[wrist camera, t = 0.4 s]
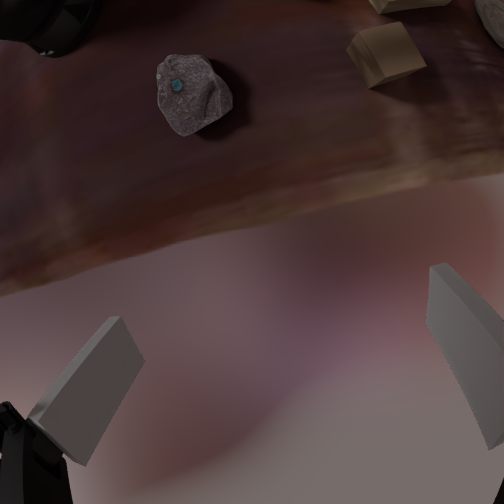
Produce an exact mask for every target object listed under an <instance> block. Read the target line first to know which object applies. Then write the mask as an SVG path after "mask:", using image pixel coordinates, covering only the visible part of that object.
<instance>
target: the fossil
mask: <svg viewBox="0 0 504 504" xmlns="http://www.w3.org/2000/svg"><path fill="white" fill-rule="evenodd" d="M474 5H475V9H476V11H477V13H478V15H479V17H480V19H481V21H482V23H483V26H484V28H485V29H486V31H487V32H488V34H489V35H490V36H491V37H492V39H493V40H494V41H495V42H496V43H497V44H498V45H499V46H500V47H502V48H503V49H504V4H503V3H501V2H500V1H499V0H475V1H474Z"/></svg>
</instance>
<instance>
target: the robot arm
mask: <svg viewBox="0 0 504 504" xmlns="http://www.w3.org/2000/svg"><path fill="white" fill-rule="evenodd" d="M100 8H101V0H0V39H1V40H9V41H17V42H23V43H25V44H27V45H28V46H29V47H31V48H32V49H33V50H35V51H36V52H37V53H38V54H40V55H42V56H45V57H50V58H56V57H60V56H62V55H64V54H66V53H68V52H69V51H70V50H72V49H73V48H74V47H75V46H76V45H77V44H78V43H79V42H80V41H81V40H82V39H83V38H84V37H85V36H86V34H87V33H88V32H89V30H90V29H91V27H92V26H93V24H94V22H95V20H96V18H97V16H98V14H99V11H100ZM426 326H427V327H428V329H429V331H430V332H431V334H432V336H433V337H434V339H435V340H436V342H437V344H438V346H439V347H440V349H441V351H442V353H443V354H444V356H445V358H446V360H447V362H448V363H449V365H450V367H451V369H452V371H453V373H454V375H455V377H456V378H457V380H458V382H459V384H460V386H461V388H462V390H463V392H464V394H465V396H466V398H467V400H468V402H469V405H470V407H471V409H472V411H473V413H474V416H475V418H476V420H477V422H478V425H479V427H480V429H481V432H482V434H483V437H484V439H485V442H486V444H487V447H488V450H491V449H493V448H494V447H496V446H498V445H500V444H501V443H503V442H504V320H503V319H502V318H501V317H500V316H499V315H498V314H497V313H496V312H495V311H494V309H492V307H491V306H490V305H489V304H488V303H487V302H486V301H485V300H484V299H483V298H482V297H481V296H480V295H479V294H478V293H477V292H476V291H475V290H474V289H473V288H472V287H471V286H470V285H469V284H468V283H467V282H466V281H465V280H464V279H463V278H462V277H461V276H460V275H459V274H458V273H457V272H456V271H455V270H453V269H452V268H451V267H450V266H449V265H448V264H447V263H446V262H445V263H441V264H437V265H433V266H430V277H429V293H428V306H427V315H426ZM144 363H145V360H144V358H143V356H142V354H141V353H140V351H139V349H138V347H137V345H136V344H135V342H134V340H133V338H132V336H131V334H130V333H129V331H128V329H127V327H126V325H125V323H124V321H123V319H122V317H121V316H115V317H109V318H108V319H107V320H106V321H105V322H104V324H103V325H102V326H101V327H100V328H99V329H98V330H97V331H96V333H95V334H94V335H93V336H92V337H91V338H90V339H89V341H88V342H87V343H86V344H85V345H84V346H83V347H82V349H81V350H80V351H79V352H78V353H77V355H76V356H75V357H74V358H73V359H72V361H71V362H70V363H69V364H68V365H67V366H66V368H65V369H64V370H63V371H62V373H61V374H60V375H59V376H58V378H57V379H56V380H55V381H54V382H53V384H52V385H51V386H50V387H49V389H48V390H47V391H46V393H45V394H44V395H43V396H42V398H41V399H40V400H39V402H38V403H37V404H36V406H35V407H34V408H33V409H32V411H31V412H30V414H29V415H28V418H27V419H26V420H25V419H24V418H23V417H22V416H21V415H20V414H19V413H18V411H17V410H16V409H15V408H14V407H13V406H12V404H11V403H10V402H8V401H6V402H3V403H1V404H0V453H1V454H2V456H1V459H0V504H73V501H72V495H71V490H70V484H69V478H68V471H67V465H66V464H67V463H66V460H65V459H64V458H63V457H62V455H63V453H64V454H65V455H67V456H68V457H69V458H70V459H71V460H72V461H74V462H76V463H79V464H81V465H83V466H86V465H87V463H88V461H89V459H90V457H91V455H92V454H93V452H94V450H95V448H96V446H97V444H98V442H99V441H100V439H101V437H102V435H103V433H104V432H105V430H106V428H107V426H108V424H109V423H110V421H111V419H112V417H113V416H114V414H115V412H116V410H117V409H118V407H119V405H120V403H121V401H122V400H123V398H124V396H125V395H126V393H127V391H128V390H129V388H130V386H131V384H132V383H133V381H134V379H135V378H136V376H137V374H138V373H139V371H140V369H141V368H142V366H143V364H144ZM493 504H504V479H503V481H502V484H501V486H500V489H499V492H498V494H497V496H496V498H495V501H494V503H493Z"/></svg>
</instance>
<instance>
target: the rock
mask: <svg viewBox="0 0 504 504" xmlns="http://www.w3.org/2000/svg"><path fill="white" fill-rule="evenodd" d="M157 71H158V72H157V85H158V88H159V90H158V105H159V108H160V110H161V111H162V113H163V114H164V115H165V117H166V119H167V121H168V122H169V124H170V126H171V127H172V128H173V129H174V131H176V132H177V133H178V134H180V135H182V136H183V137H185V136H187V135H190V134H192V133H194V132H196V131H198V130H199V129H201V128H203V127H204V126H206V125H208V124H210V123H212V122H213V121H215V120H218V119H219V118H220V117H222V116H223V115H225V114H226V113H227V112H228V111H230V110H231V109H232V108H233V105H232V100H233V97H232V93H231V91H230V89H229V87H228V86H227V84H226V83H225V82H224V80H223V79H222V78H221V77H219V76H218V75H217V74H216V73H215V72H214V70H213V68H212V66H211V64H210V61H209V60H208V59H207V58H206V56H203V55H187V56H183V55H180V54H179V55H175V54H174V55H170V56H168V57H167V58H166V59H165V61H164V62H163V63H161V64H160V65H159V66H158V68H157Z"/></svg>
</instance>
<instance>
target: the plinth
mask: <svg viewBox="0 0 504 504" xmlns="http://www.w3.org/2000/svg"><path fill="white" fill-rule="evenodd" d="M369 1H370V3H371V4H372V5H373V7H374V8H375V9H376V11H377V12H378V14H383V13H389V12H394V11H400V10H407V9H414V8H423V7H433V6H445V5H447V4H448V3H449V2H451V1H452V0H369Z"/></svg>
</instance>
